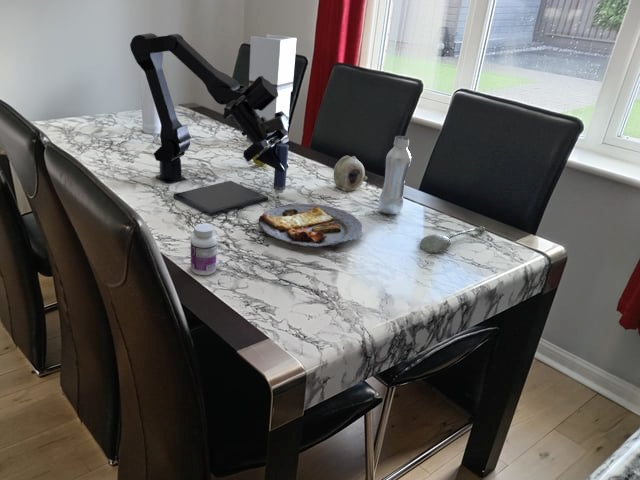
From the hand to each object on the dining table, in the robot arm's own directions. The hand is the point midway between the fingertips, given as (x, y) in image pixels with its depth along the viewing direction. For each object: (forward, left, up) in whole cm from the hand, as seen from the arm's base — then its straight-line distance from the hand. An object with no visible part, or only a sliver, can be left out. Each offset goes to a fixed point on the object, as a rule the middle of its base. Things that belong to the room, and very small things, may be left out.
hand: (285, 169), depth 154 cm
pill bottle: (+20, -43, -9) cm, 48 cm away
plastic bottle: (+23, +17, -9) cm, 30 cm away
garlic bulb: (+4, +23, -9) cm, 25 cm away
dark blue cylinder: (-1, -1, -7) cm, 7 cm away
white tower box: (-46, +37, -9) cm, 60 cm away
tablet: (-10, -14, -9) cm, 19 cm away
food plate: (+19, -10, -9) cm, 23 cm away
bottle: (-78, +9, -9) cm, 79 cm away
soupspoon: (+44, +15, -9) cm, 47 cm away
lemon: (-25, +14, -9) cm, 30 cm away
